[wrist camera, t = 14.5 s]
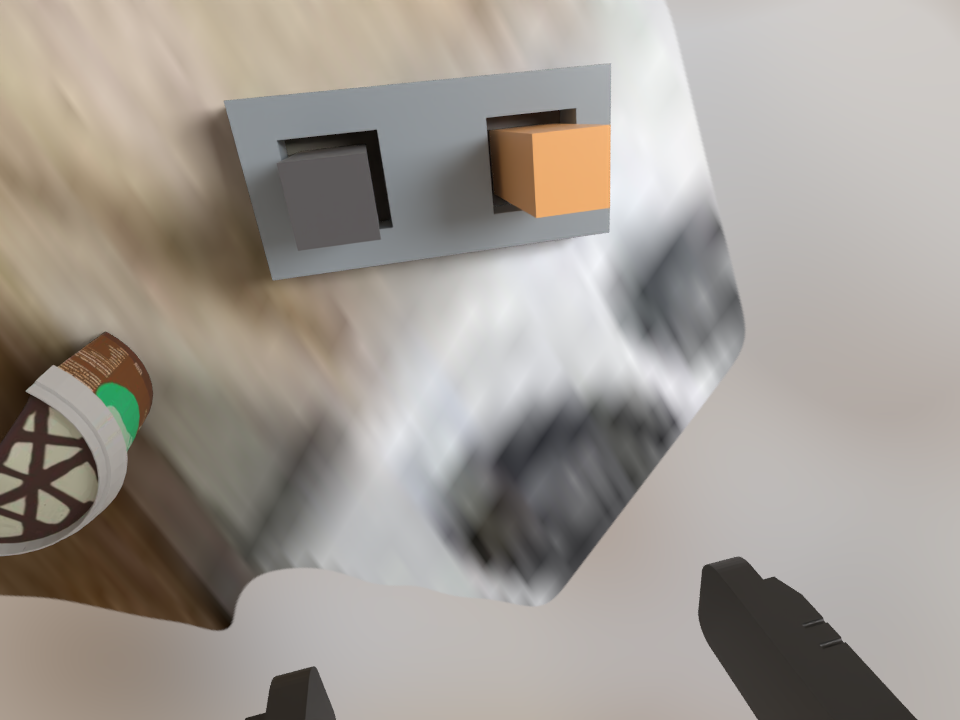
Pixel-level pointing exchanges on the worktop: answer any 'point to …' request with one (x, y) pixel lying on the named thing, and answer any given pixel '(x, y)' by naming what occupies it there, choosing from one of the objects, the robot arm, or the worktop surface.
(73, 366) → the food container
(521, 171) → the orange plug
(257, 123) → the slate power strip
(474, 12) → the worktop surface
